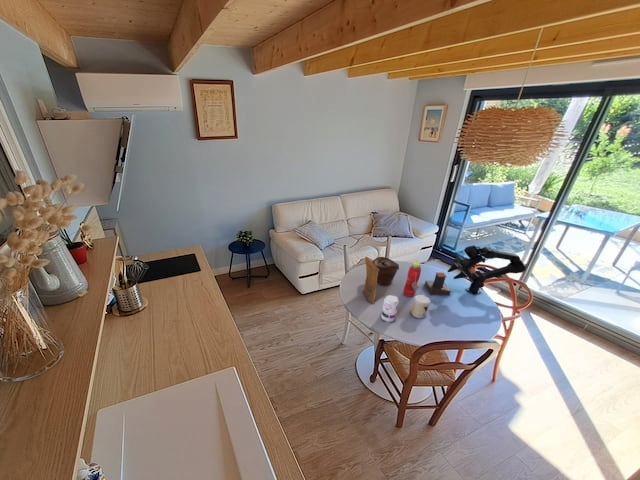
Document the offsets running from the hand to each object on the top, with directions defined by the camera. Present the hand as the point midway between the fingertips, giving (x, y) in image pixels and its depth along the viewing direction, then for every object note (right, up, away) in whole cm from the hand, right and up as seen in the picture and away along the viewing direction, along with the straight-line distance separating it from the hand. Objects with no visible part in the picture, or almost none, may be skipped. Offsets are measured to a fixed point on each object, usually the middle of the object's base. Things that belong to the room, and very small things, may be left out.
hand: (450, 275), depth 197 cm
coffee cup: (-31, -25, -17) cm, 43 cm away
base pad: (-6, -11, +7) cm, 14 cm away
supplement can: (-51, -27, -20) cm, 61 cm away
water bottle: (-28, -14, +1) cm, 32 cm away
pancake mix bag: (-57, -15, +1) cm, 59 cm away
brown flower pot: (-41, -5, +18) cm, 45 cm away
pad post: (-6, -11, +7) cm, 14 cm away
